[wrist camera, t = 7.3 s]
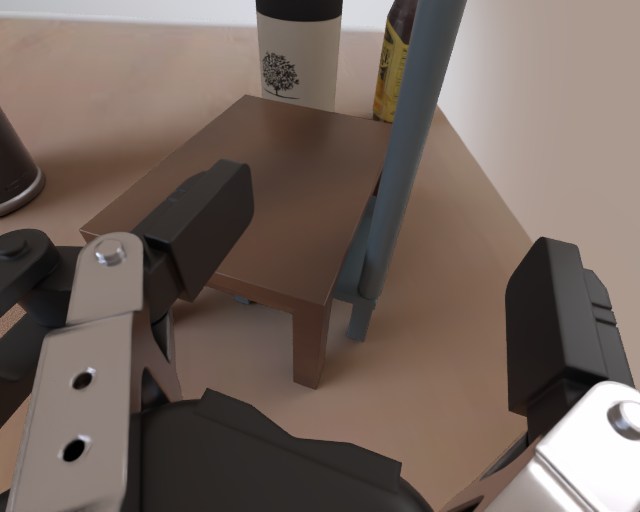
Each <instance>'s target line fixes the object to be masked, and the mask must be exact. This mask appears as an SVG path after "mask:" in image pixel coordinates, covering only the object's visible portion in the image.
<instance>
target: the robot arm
mask: <svg viewBox="0 0 640 512" xmlns="http://www.w3.org/2000/svg"><path fill="white" fill-rule="evenodd" d="M44 183H45V177H44V174H43V173H42V171H41V169H40V168H39V166H38V165H37V164H36V163H35V162H34V160H33V159H32V157H31V156H30V154H29V152H28V151H27V149H26V147H25V146H24V144H23V143H22V141H21V139H20V137H19V136H18V134H17V133H16V131H15V129H14V128H13V126H12V125H11V123H10V121H9V120H8V118H7V117H6V115H5V113H4V112H3V110H2V109H1V107H0V216H2V215H5V214H7V213H10V212H12V211H14V210H16V209H18V208H20V207H22V206H23V205H25V204H26V203H28V202H29V201H31V200H32V199H33V198H34V197H35V196H36V195H37V194H38V193H39V192H40V191H41V189H42V188H43V186H44ZM253 214H254V197H253V188H252V178H251V170H250V167H249V165H248V164H246V163H242V162H238V161H234V160H230V159H226V158H221V159H220V160H218V161H217V162H216V163H215V164H214V165H213V166H212V167H211V168H210V169H209V170H208V171H202V172H200V173H197V174H195V175H193V176H191V177H189V178H187V179H186V180H185V181H184V182H183V183H182V184H181V185H180V186H179V187H178V188H177V189H176V191H173V192H172V193H171V194H170V195H169V196H168V197H167V200H164V201H163V202H162V203H160V204H159V205H158V206H157V207H156V208H155V209H154V210H153V211H152V212H151V213H150V214H149V215H148V216H147V217H145V218H144V219H143V220H142V221H141V222H140V223H139V224H138V225H137V226H136V227H135V228H134V229H133V230H132V231H131V232H129V233H127V232H114V233H109V234H105V235H102V236H100V237H97V238H95V239H94V240H92V241H90V242H89V243H88V244H87V245H85V246H84V247H74V246H54V244H53V243H52V242H51V240H50V239H49V237H48V236H47V235H46V234H45V233H44V232H42V231H40V230H37V229H21V230H15V231H12V232H9V233H6V234H3V235H1V236H0V318H1V317H2V316H3V315H4V314H5V313H6V312H7V311H8V310H9V309H11V308H12V307H13V306H14V305H15V304H16V303H18V304H19V305H20V306H21V307H22V308H23V309H24V310H25V311H26V312H27V313H26V314H25V315H24V316H23V317H22V318H21V319H20V320H19V321H18V322H17V323H16V324H15V325H14V326H13V327H12V328H11V329H10V330H9V331H8V332H7V333H6V334H5V335H4V336H3V337H2V338H0V429H1V427H2V426H3V425H4V424H5V423H6V422H7V420H8V419H9V418H10V417H11V416H12V414H13V413H14V412H15V411H16V410H17V409H18V407H19V406H20V405H21V404H22V403H23V402H24V400H25V399H26V398H27V397H28V396H29V395H30V393H31V392H32V394H31V398H30V403H29V408H28V412H27V417H26V421H25V426H24V430H23V435H22V439H21V444H20V448H19V453H18V458H17V462H16V467H15V471H14V476H13V480H12V485H11V488H10V489H8V490H7V491H5V492H3V493H1V494H0V512H434V511H433V509H432V508H431V506H430V505H429V504H428V503H427V502H426V500H425V499H424V498H423V497H422V496H421V495H420V493H419V492H418V491H417V490H416V489H415V488H413V487H412V486H411V485H410V484H409V483H408V482H407V481H406V480H404V479H403V478H402V477H400V472H401V466H402V463H401V462H398V461H396V460H393V459H391V458H388V457H385V456H383V455H380V454H378V453H375V452H372V451H370V450H367V449H365V448H362V447H359V446H357V445H354V444H352V443H346V442H335V441H324V440H313V439H302V438H296V437H293V436H291V435H290V434H288V433H287V432H286V431H284V430H283V429H282V428H281V427H279V426H278V425H277V424H275V423H274V422H273V421H271V420H270V419H269V418H268V417H266V416H265V415H264V414H262V413H261V412H260V411H258V410H257V409H256V408H255V407H253V406H252V405H250V404H248V403H245V402H243V401H240V400H237V399H235V398H232V397H230V396H227V395H224V394H222V393H219V392H217V391H214V390H211V389H209V388H207V389H206V391H205V392H204V394H203V396H202V398H201V399H193V400H183V399H182V392H181V387H180V383H179V380H178V376H177V371H176V359H175V342H174V324H173V310H172V307H171V305H172V304H173V303H174V302H175V300H176V299H177V298H179V299H182V300H185V301H188V302H191V303H192V302H193V301H194V300H195V298H196V297H197V296H198V294H199V293H200V291H201V290H202V289H203V287H204V286H205V285H206V283H207V282H208V281H209V279H210V278H211V276H212V275H213V274H214V272H215V271H216V270H217V268H218V267H219V266H220V264H221V263H222V261H223V260H224V259H225V257H226V256H227V255H228V253H229V252H230V251H231V249H232V248H233V246H234V245H235V244H236V242H237V241H238V240H239V238H240V237H241V236H242V234H243V233H244V231H245V230H246V229H247V227H248V226H249V224H250V223H251V221H252V218H253ZM505 308H506V341H507V373H508V406H509V411H510V412H513V413H516V414H519V415H522V416H525V417H527V425H528V429H527V430H526V431H524V432H523V433H522V434H521V435H520V436H519V437H518V438H517V439H516V440H515V441H514V442H513V443H512V444H511V445H510V446H509V447H508V448H506V449H505V450H504V451H503V452H502V453H501V454H500V455H499V456H498V457H497V458H496V459H495V460H494V461H493V462H492V463H491V464H490V465H489V466H488V467H487V468H486V469H485V470H484V471H483V472H482V473H481V474H480V475H479V476H478V477H477V478H476V479H475V480H474V481H473V482H472V483H471V484H470V485H469V486H467V487H466V488H465V489H464V490H462V491H461V492H460V493H458V494H457V495H456V496H455V497H454V498H453V499H451V500H450V501H449V502H448V503H447V504H446V505H445V506H444V507H443V508H442V509H441V510H440V511H439V512H640V392H639V391H638V390H636V388H635V385H634V382H633V378H632V375H631V371H630V368H629V364H628V361H627V358H626V354H625V351H624V347H623V344H622V341H621V337H620V333H619V330H618V328H617V327H616V324H617V323H616V319H615V316H614V312H612V311H611V309H612V305H611V302H610V299H609V295H608V292H607V289H606V288H605V286H604V285H603V284H602V282H601V281H600V280H599V278H598V277H597V276H596V275H595V273H594V272H593V271H592V270H588V269H584V268H583V265H582V261H581V257H580V253H579V249H578V247H577V246H576V245H574V244H570V243H566V242H562V241H558V240H554V239H550V238H546V237H540V238H539V239H538V240H537V241H536V242H535V243H534V244H533V246H532V247H531V249H530V250H529V252H528V253H527V254H526V256H525V257H524V259H523V260H522V262H521V263H520V264H519V266H518V267H517V269H516V270H515V271H514V273H513V274H512V276H511V278H510V280H509V282H508V285H507V288H506V293H505Z"/></svg>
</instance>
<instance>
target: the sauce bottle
mask: <svg viewBox="0 0 640 512" xmlns="http://www.w3.org/2000/svg"><path fill="white" fill-rule="evenodd" d="M417 3H418V0H395V1H394V3H393V5H392V7H391V9H390V11H389V14H388V16H387V22H386V28H385V34H384V41H383V47H382V53H381V59H380V66H379V72H378V79H377V85H376V91H375V97H374V104H373V120H374V121H379V122H384V123H389V124H392V123H393V118H394V113H395V108H396V104H397V99H398V94H399V89H400V85H401V80H402V75H403V70H404V66H405V61H406V56H407V51H408V46H409V42H410V37H411V32H412V27H413V23H414V18H415V13H416V8H417Z"/></svg>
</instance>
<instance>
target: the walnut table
mask: <svg viewBox="0 0 640 512" xmlns="http://www.w3.org/2000/svg"><path fill="white" fill-rule="evenodd" d="M391 128H392V124H389V123H384V122H379V121H374V120H369V119H364V118H359V117H354V116H349V115H344V114H339V113H334V112H329V111H324V110H319V109H314V108H309V107H304V106H299V105H294V104H289V103H284V102H279V101H274V100H269V99H264V98H259V97H255V96H250V95H244V96H243V97H242V98H240V99H239V100H238V101H237V102H235V103H234V104H233V105H232V106H230V107H229V108H228V109H227V110H226V111H224V112H223V113H222V114H221V115H219V116H218V117H217V118H216V119H214V120H213V121H212V122H211V123H210V124H208V125H207V126H206V127H205V128H203V129H202V130H201V131H200V132H198V133H197V134H196V135H195V136H194V137H192V138H191V139H190V140H189V141H187V142H186V143H185V144H184V145H182V146H181V147H180V148H179V149H178V150H176V151H175V152H174V153H173V154H171V155H170V156H169V157H168V158H166V159H165V160H164V161H163V162H162V163H160V164H159V165H158V166H157V167H155V168H154V169H153V170H152V171H150V172H149V173H148V174H147V175H146V176H144V177H143V178H142V179H141V180H139V181H138V182H137V183H136V184H134V185H133V186H132V187H131V188H130V189H128V190H127V191H126V192H125V193H123V194H122V195H121V196H120V197H118V198H117V199H116V200H115V201H114V202H112V203H111V204H110V205H109V206H107V207H106V208H105V209H104V210H102V211H101V212H100V213H99V214H98V215H96V216H95V217H94V218H93V219H91V220H90V221H89V222H88V223H86V224H85V225H84V226H83V227H82V228H80V229H79V231H80V233H81V234H82V236H83V237H84V239H85V241H86V242H87V243H89V242H90V241H92V240H94V239H95V238H97V237H100V236H102V235H105V234H109V233H114V232H127V233H129V232H131V231H132V230H133V229H134V228H135V227H136V226H137V225H138V224H139V223H140V222H141V221H142V220H143V219H144V218H145V217H147V216H148V215H149V214H150V213H151V212H152V211H153V210H154V209H155V208H156V207H157V206H158V205H159V204H160V203H162V202H163V201H164V200H167V197H168V196H169V195H170V194H171V193H172V192H173V191H176V189H177V188H178V187H179V186H180V185H181V184H182V183H183V182H184V181H185V180H186V179H187V178H189V177H191V176H193V175H195V174H197V173H200V172H202V171H208V170H209V169H210V168H211V167H212V166H213V165H214V164H215V163H216V162H217V161H218V160H220V159H221V158H226V159H230V160H234V161H238V162H242V163H246V164H248V165H249V167H250V170H251V178H252V188H253V197H254V214H253V218H252V221H251V223H250V224H249V226H248V227H247V229H246V230H245V231H244V233H243V234H242V236H241V237H240V238H239V240H238V241H237V242H236V244H235V245H234V246H233V248H232V249H231V251H230V252H229V253H228V255H227V256H226V257H225V259H224V260H223V261H222V263H221V264H220V266H219V267H218V268H217V270H216V271H215V272H214V274H213V275H212V276H211V278H210V279H209V281H208V282H207V283H206V285H205V286H208V287H211V288H214V289H217V290H220V291H223V292H227V293H230V294H233V295H236V296H239V297H242V298H245V299H248V300H252V301H255V302H258V303H261V304H264V305H267V306H270V307H273V308H276V309H280V310H283V311H286V312H289V313H292V314H293V379H294V382H295V383H298V384H301V385H304V386H306V387H309V388H312V389H315V390H316V388H317V385H318V382H319V380H320V377H321V374H322V371H323V367H324V359H325V351H326V343H327V335H328V328H329V320H330V312H331V304H332V296H333V292H334V290H335V287H336V285H337V282H338V280H339V277H340V275H341V272H342V270H343V267H344V265H345V262H346V260H347V257H348V254H349V252H350V249H351V247H352V244H353V242H354V239H355V237H356V234H357V232H358V229H359V227H360V224H361V222H362V219H363V217H364V214H365V212H366V209H367V207H368V204H369V202H370V199H371V197H372V196H376V197H377V194H378V190H379V185H380V180H381V175H382V170H383V166H384V161H385V156H386V151H387V147H388V142H389V137H390V132H391Z"/></svg>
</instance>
